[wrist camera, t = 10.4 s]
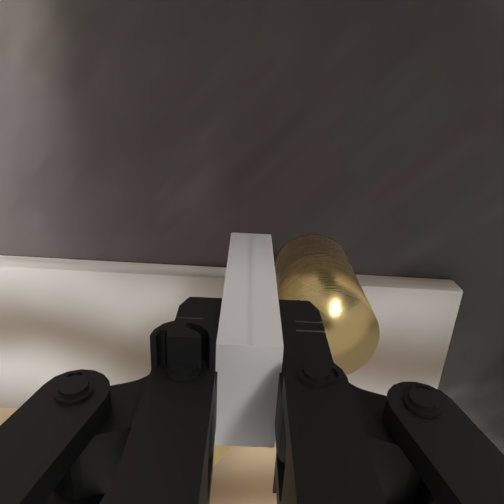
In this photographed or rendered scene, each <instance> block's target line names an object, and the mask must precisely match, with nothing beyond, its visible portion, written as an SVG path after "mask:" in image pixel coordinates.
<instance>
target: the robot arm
mask: <svg viewBox="0 0 504 504" xmlns="http://www.w3.org/2000/svg"><path fill="white" fill-rule="evenodd" d="M150 353H151V372H150V374H149V375H147V376H146V377H143V378H141V379H139V380H135V381H131V382H127V383H122V384H116V385H111V386H110V381H109V380H108V378H107V377H106V376H105V375H104V374H102V373H100V372H97V371H95V370H85V369H80V370H74V371H68V372H65V373H63V374H60V375H58V376H55V377H54V378H52V379H51V380H49V381H48V382H47V383H45V384H44V385H43V386H42V387H41V388H40V389H38V390H37V391H36V392H35V393H34V394H33V395H32V396H31V397H30V398H29V399H28V400H27V401H26V402H25V403H24V404H23V405H22V406H21V407H19V408H18V409H17V410H16V411H15V412H14V413H13V414H12V415H11V416H10V417H9V418H8V419H7V420H6V421H5V422H4V423H3V424H1V425H0V504H209V503H210V493H211V484H212V474H213V459H214V445H223V446H244V447H270V448H274V447H275V439H276V461H275V471H274V482H273V492H272V493H276V497H277V504H504V455H503V454H502V453H501V452H500V451H499V450H498V448H497V447H496V446H495V445H494V444H493V443H492V442H491V441H490V440H489V439H488V438H487V437H486V436H485V435H484V434H483V432H482V431H481V430H480V429H479V428H478V427H477V426H476V425H475V424H474V423H473V422H472V421H471V420H470V419H469V418H468V417H467V415H466V414H465V413H464V412H463V411H462V410H461V409H460V408H459V407H458V406H457V405H456V404H455V403H454V402H453V401H452V400H451V399H450V398H449V397H448V396H447V395H445V394H444V393H443V392H442V391H440V390H438V389H436V388H434V387H432V386H430V385H427V384H423V383H419V382H400V383H397V384H394V385H393V386H392V387H391V388H390V389H389V390H388V392H387V396H385V395H381V394H377V393H374V392H370V391H367V390H364V389H361V388H358V387H356V386H354V385H352V384H350V383H349V381H348V378H347V376H346V374H345V373H344V371H343V370H342V369H341V368H340V367H339V366H337V365H336V364H335V363H334V362H333V358H332V355H331V351H330V348H329V344H328V340H327V337H326V333H325V329H324V326H323V323H322V319H321V315H320V311H319V310H318V309H317V308H316V307H315V306H314V305H313V304H312V303H311V302H310V301H303V300H281V299H278V291H277V282H276V273H275V264H274V255H273V246H272V238H271V234H252V233H231V238H230V246H229V253H228V260H227V268H226V275H225V282H224V290H223V297H222V298H210V297H189V298H187V299H186V300H185V301H184V302H183V303H182V304H180V305H179V308H178V311H177V315H176V318H175V320H174V321H171V322H167V323H164V324H162V325H160V326H159V327H157V328H155V329H154V330H153V332H152V333H151V334H150Z"/></svg>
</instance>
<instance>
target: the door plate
mask: <svg viewBox="0 0 504 504" xmlns="http://www.w3.org/2000/svg"><path fill="white" fill-rule="evenodd" d="M225 275H226V267H207V266H189V265H170V264H152V263H133V262H115V261H96V260H78V259H59V258H41V257H23V256H4V255H0V425H1V424H3V423H4V422H5V421H6V420H7V419H8V418H9V417H10V416H11V415H12V414H13V413H14V412H15V411H16V410H17V409H18V408H19V407H21V406H22V405H23V404H24V403H25V402H26V401H27V400H28V399H29V398H30V397H31V396H32V395H33V394H34V393H35V392H36V391H37V390H38V389H40V388H41V387H42V386H43V385H44V384H45V383H47V382H48V381H49V380H51V379H52V378H54V377H55V376H58V375H60V374H63V373H65V372H68V371H74V370H80V369H85V370H95V371H97V372H100V373H102V374H104V375H105V376H106V377H107V378H108V380H109V381H110V386H111V385H116V384H122V383H127V382H131V381H135V380H139V379H141V378H143V377H146V376H147V375H149V374H150V372H151V353H150V334H151V333H152V332H153V330H154V329H155V328H157V327H159V326H160V325H162V324H164V323H167V322H171V321H174V320H175V318H176V315H177V311H178V308H179V305H180V304H182V303H183V302H184V301H185V300H186V299H187V298H189V297H210V298H222V297H223V290H224V282H225ZM356 277H357V279H358V281H359V283H360V285H361V287H362V289H363V292H364V294H365V296H366V298H367V300H368V302H369V304H370V306H371V308H372V310H373V312H374V314H375V316H376V319H377V321H378V324H379V330H380V337H379V343H378V346H377V348H376V351H375V353H374V354H373V356H372V357H371V358H370V360H369V361H368V362H367V363H366V364H365V365H363V366H362V367H361V368H359V369H358V370H356V371H354V372H353V373H350V374H348V375H346V376H347V378H348V381H349V383H350V384H352V385H354V386H356V387H358V388H361V389H364V390H367V391H370V392H374V393H377V394H381V395H385V396H387V392H388V390H389V389H390V388H391V387H392V386H393V385H394V384H397V383H400V382H419V383H423V384H427V385H430V386H432V387H434V388H436V389H438V386H439V382H440V378H441V375H442V371H443V367H444V363H445V359H446V356H447V352H448V348H449V344H450V340H451V337H452V333H453V329H454V325H455V321H456V318H457V314H458V310H459V306H460V302H461V299H462V295H463V291H462V289H461V288H460V287H459V286H458V285H457V284H456V283H455V282H454V281H453V280H447V279H429V278H410V277H392V276H373V275H356ZM275 461H276V439H275V447H274V448H270V447H244V446H232V448H231V449H230V450H229V451H228V452H227V453H226V454H225V455H224V456H223V457H222V458H221V459H220V460H219V462H218V463H217V464H216V465H215V466H214V467H213V474H212V484H211V493H210V503H209V504H277V497H276V493H272V492H273V482H274V471H275Z"/></svg>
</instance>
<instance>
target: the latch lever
mask: <svg viewBox="0 0 504 504" xmlns="http://www.w3.org/2000/svg"><path fill="white" fill-rule="evenodd" d="M275 273H276V282H277V291H278V299H281V300H303V301H310V302H311V303H312V304H313V305H314V306H315V307H316V308H317V309H318V310H319V311H320V315H321V319H322V323H323V326H324V329H325V333H326V337H327V340H328V344H329V348H330V351H331V355H332V358H333V362H334V363H335V364H336V365H337V366H339V367H340V368H341V369H342V370H343V371H344V373H345V374H346V375H348V374H350V373H353V372H354V371H356V370H358V369H359V368H361V367H362V366H363V365H365V364H366V363H367V362H368V361H369V360H370V358H371V357H372V356H373V354H374V353H375V351H376V348H377V346H378V343H379V337H380V330H379V324H378V321H377V319H376V316H375V314H374V312H373V310H372V308H371V306H370V304H369V302H368V300H367V298H366V296H365V294H364V292H363V289H362V287H361V285H360V283H359V281H358V279H357V277H356V275H355V273H354V271H353V269H352V267H351V265H350V262H349V260H348V258H347V256H346V254H345V252H344V250H343V249H342V247H341V246H340V245H339V244H338V243H337V242H335V241H334V240H332V239H331V238H328V237H326V236H323V235H318V234H307V235H302V236H299V237H296V238H294V239H292V240H291V241H289V242H288V243H287V244H285V245H284V246H283V248H282V249H281V250H280V251H279V253H278V255H277V257H276V260H275ZM231 448H232V446H223V445H214V459H213V467H214V466H215V465H216V464H217V463H218V462H219V460H220V459H221V458H222V457H223V456H224V455H225V454H226V453H227V452H228V451H229V450H230V449H231Z"/></svg>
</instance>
